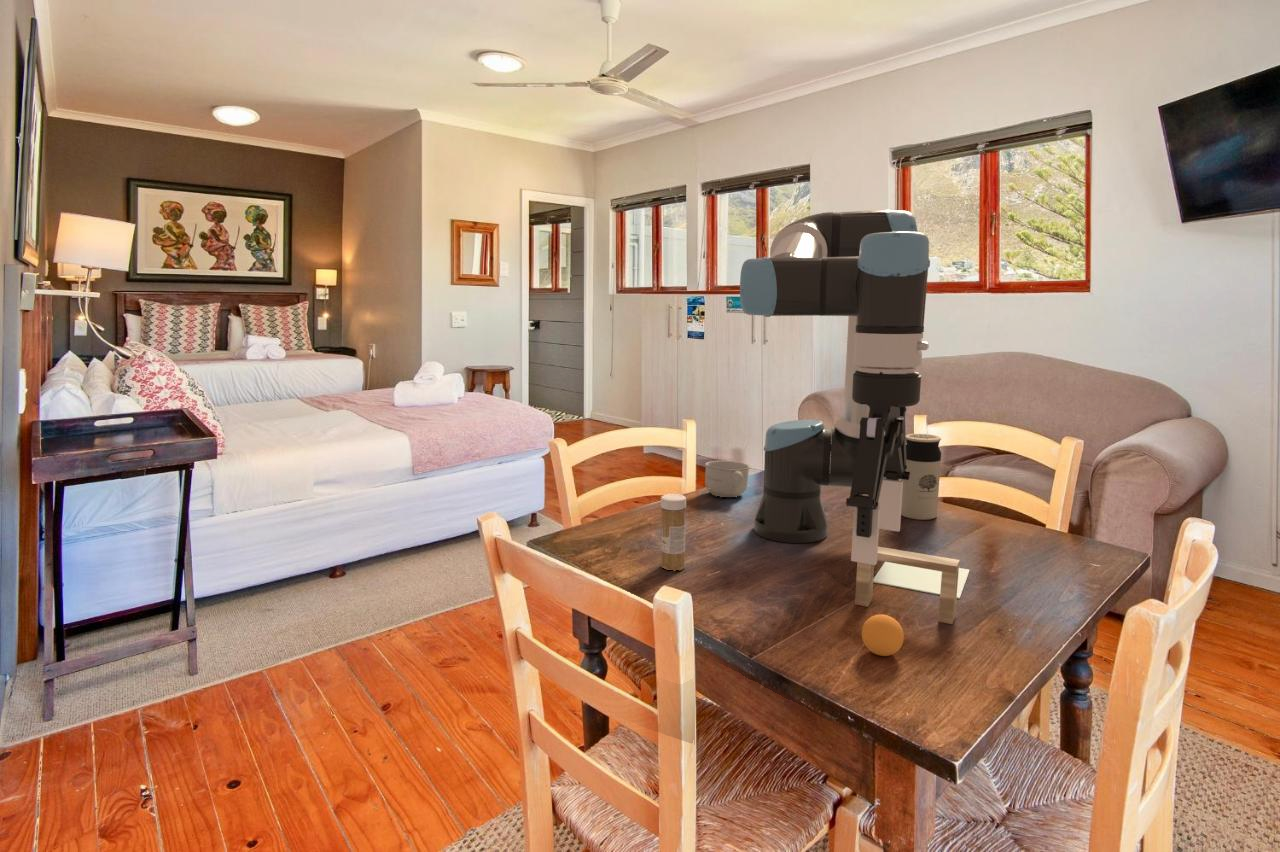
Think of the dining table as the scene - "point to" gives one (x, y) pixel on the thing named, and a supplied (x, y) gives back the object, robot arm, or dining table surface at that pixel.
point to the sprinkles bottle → (673, 531)
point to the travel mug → (921, 477)
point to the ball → (882, 635)
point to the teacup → (726, 478)
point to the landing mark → (916, 578)
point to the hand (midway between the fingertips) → (877, 544)
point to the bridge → (916, 560)
